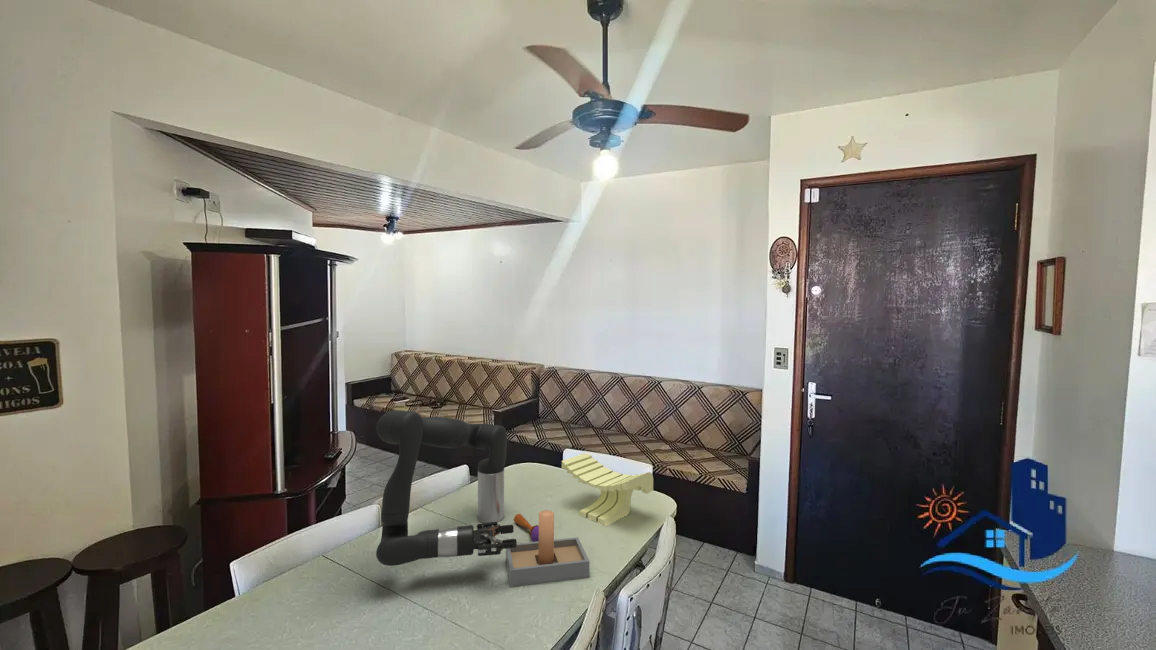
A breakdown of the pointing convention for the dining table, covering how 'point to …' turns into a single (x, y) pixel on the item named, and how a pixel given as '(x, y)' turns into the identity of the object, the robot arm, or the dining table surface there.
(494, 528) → the robot arm
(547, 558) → the peg
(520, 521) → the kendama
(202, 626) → the dining table surface
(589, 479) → the slatted curved stool
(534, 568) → the peg box
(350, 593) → the dining table surface
